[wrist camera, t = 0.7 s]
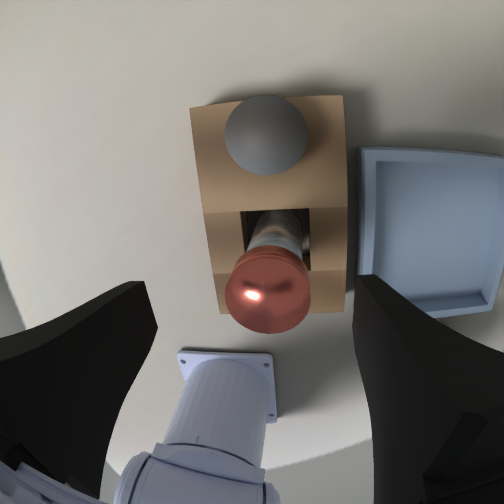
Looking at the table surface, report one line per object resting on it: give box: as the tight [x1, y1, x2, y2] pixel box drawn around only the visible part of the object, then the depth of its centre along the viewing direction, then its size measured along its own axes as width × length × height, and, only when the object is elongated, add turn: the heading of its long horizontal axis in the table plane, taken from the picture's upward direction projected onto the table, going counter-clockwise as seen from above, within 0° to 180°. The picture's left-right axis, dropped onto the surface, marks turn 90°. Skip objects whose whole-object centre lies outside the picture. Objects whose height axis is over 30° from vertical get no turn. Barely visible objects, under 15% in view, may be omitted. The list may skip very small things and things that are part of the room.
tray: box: [353, 146, 504, 318], centre depth 17 cm, size 11×11×2 cm
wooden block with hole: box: [189, 95, 348, 314], centre depth 17 cm, size 13×8×3 cm, turn 6°
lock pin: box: [225, 209, 311, 334], centre depth 16 cm, size 3×3×8 cm
